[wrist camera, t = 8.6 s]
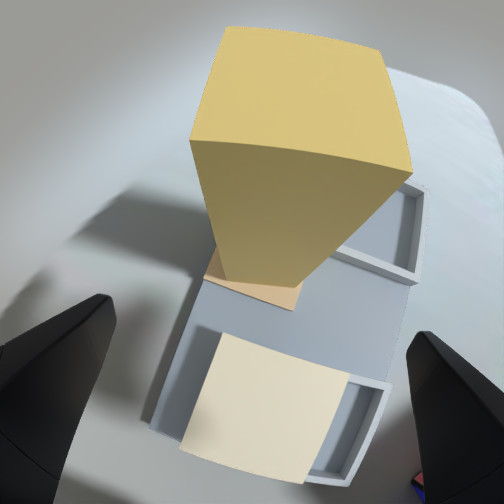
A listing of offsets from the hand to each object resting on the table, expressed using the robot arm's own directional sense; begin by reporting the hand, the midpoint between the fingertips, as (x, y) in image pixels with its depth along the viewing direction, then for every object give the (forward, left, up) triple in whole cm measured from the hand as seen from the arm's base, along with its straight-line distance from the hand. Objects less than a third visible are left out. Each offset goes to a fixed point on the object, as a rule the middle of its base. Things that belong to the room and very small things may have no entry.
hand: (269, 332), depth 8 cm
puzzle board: (+3, -3, -10) cm, 11 cm away
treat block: (+5, +1, -9) cm, 10 cm away
